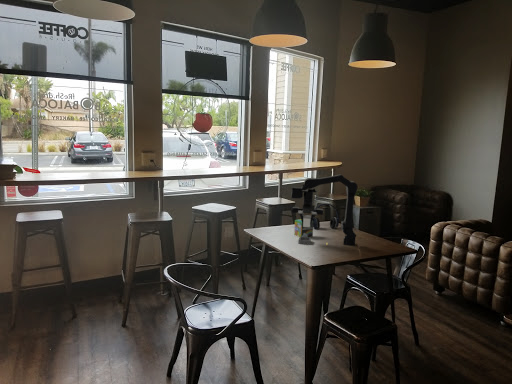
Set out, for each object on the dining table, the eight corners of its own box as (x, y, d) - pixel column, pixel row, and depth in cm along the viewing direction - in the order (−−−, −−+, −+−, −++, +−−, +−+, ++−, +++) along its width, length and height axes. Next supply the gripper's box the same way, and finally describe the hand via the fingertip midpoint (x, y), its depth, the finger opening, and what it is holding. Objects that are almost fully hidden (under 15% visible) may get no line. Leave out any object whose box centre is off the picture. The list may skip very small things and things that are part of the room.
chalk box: (305, 235, 263) (306, 213, 261) (313, 238, 255) (314, 216, 253) (293, 236, 259) (294, 214, 257) (301, 240, 251) (301, 217, 249)
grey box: (310, 225, 241) (310, 215, 240) (309, 227, 236) (310, 217, 235) (303, 224, 241) (304, 215, 240) (303, 226, 236) (303, 216, 235)
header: (310, 241, 244) (310, 237, 244) (309, 244, 236) (310, 241, 235) (299, 240, 245) (299, 236, 245) (298, 244, 237) (298, 240, 237)
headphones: (313, 230, 278) (314, 204, 276) (309, 227, 285) (311, 202, 282) (339, 229, 282) (340, 204, 279) (335, 227, 289) (337, 202, 286)
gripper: (291, 200, 230) (290, 226, 232) (323, 202, 227) (321, 228, 229) (293, 197, 241) (291, 222, 243) (323, 199, 237) (322, 224, 240)
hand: (306, 224), depth 238 cm, fingers closed on grey box, 4 cm apart
